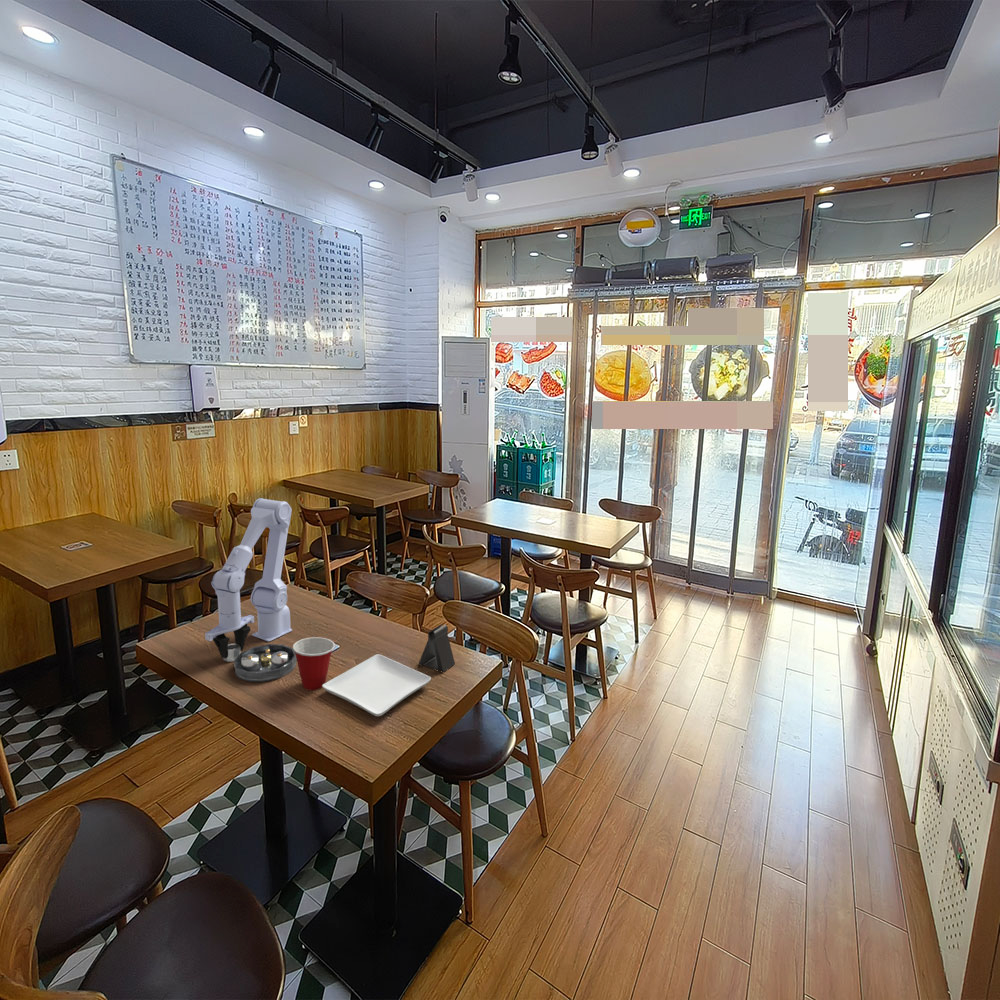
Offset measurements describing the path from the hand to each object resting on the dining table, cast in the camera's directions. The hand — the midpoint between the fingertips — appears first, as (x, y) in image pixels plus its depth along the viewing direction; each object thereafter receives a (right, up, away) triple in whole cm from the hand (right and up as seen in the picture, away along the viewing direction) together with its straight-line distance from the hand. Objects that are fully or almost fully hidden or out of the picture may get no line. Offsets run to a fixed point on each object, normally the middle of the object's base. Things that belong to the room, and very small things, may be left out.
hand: (232, 653), depth 157 cm
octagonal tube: (0, -1, 0) cm, 1 cm away
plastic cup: (+28, -6, -10) cm, 30 cm away
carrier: (+11, -3, -3) cm, 12 cm away
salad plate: (+45, -7, -11) cm, 47 cm away
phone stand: (+60, -5, +4) cm, 60 cm away
